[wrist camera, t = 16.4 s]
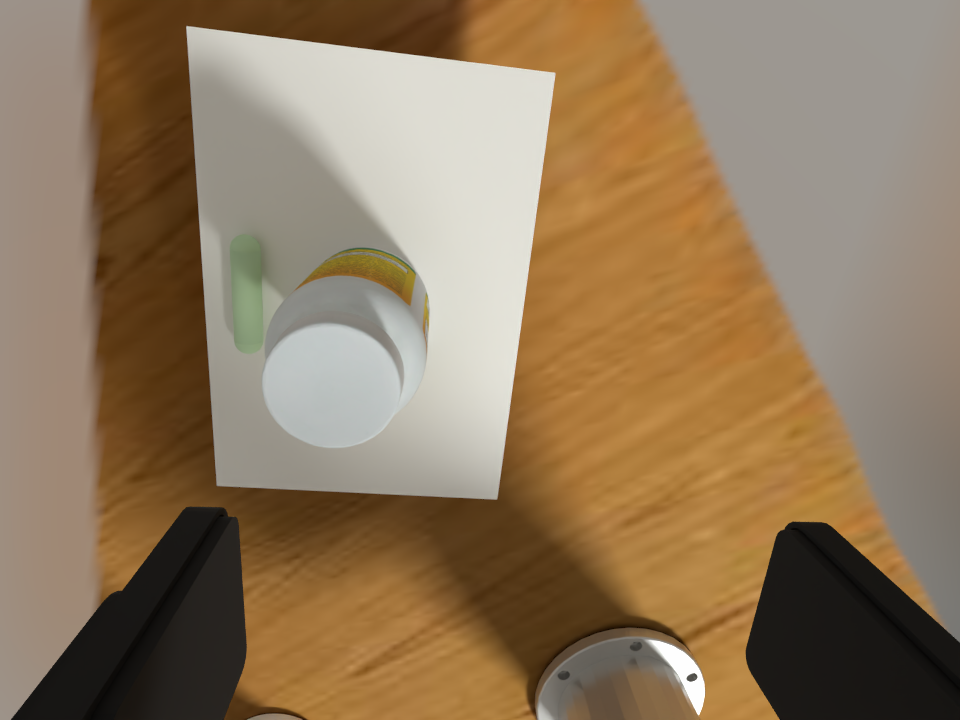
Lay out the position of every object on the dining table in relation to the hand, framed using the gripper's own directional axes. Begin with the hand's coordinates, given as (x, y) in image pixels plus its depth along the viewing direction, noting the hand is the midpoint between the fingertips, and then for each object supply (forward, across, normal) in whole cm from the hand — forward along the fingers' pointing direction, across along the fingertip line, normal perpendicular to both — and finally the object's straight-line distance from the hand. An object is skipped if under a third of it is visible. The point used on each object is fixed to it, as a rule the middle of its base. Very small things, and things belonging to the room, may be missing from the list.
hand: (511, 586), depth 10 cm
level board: (+19, +4, -1) cm, 19 cm away
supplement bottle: (+17, +4, -1) cm, 18 cm away
